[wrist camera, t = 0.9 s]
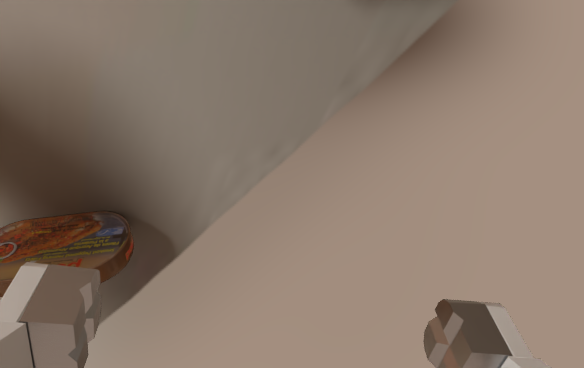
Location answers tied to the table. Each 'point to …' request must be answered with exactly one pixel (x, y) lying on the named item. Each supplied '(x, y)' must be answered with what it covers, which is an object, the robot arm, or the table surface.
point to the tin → (66, 244)
